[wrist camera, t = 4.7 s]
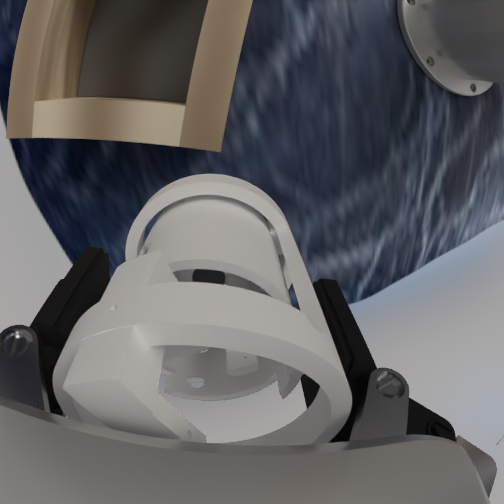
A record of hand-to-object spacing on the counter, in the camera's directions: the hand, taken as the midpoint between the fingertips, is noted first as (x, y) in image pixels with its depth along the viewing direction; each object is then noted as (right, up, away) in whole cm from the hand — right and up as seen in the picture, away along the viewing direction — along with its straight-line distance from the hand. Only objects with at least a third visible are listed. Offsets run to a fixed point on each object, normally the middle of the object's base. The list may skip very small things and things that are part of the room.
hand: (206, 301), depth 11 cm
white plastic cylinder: (-1, +4, +8) cm, 9 cm away
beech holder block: (-6, +17, +7) cm, 19 cm away
